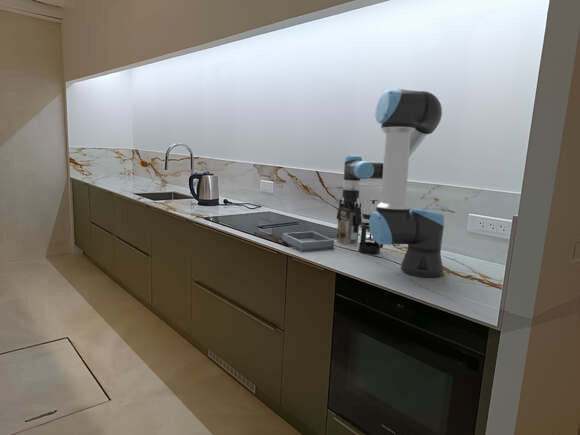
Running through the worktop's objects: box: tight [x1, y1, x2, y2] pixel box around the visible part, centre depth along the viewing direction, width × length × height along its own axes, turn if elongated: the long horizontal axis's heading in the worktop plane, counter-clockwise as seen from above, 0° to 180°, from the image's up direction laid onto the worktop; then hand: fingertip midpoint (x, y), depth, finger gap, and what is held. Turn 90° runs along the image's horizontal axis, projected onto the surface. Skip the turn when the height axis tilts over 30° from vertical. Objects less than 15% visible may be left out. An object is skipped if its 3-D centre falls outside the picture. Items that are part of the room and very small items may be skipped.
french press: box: [357, 198, 384, 255], centre depth 175 cm, size 12×9×23 cm
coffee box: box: [336, 207, 360, 246], centre depth 191 cm, size 9×6×16 cm
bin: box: [282, 230, 335, 253], centre depth 183 cm, size 18×16×4 cm
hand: (347, 237), depth 192 cm, fingers closed on coffee box, 9 cm apart
